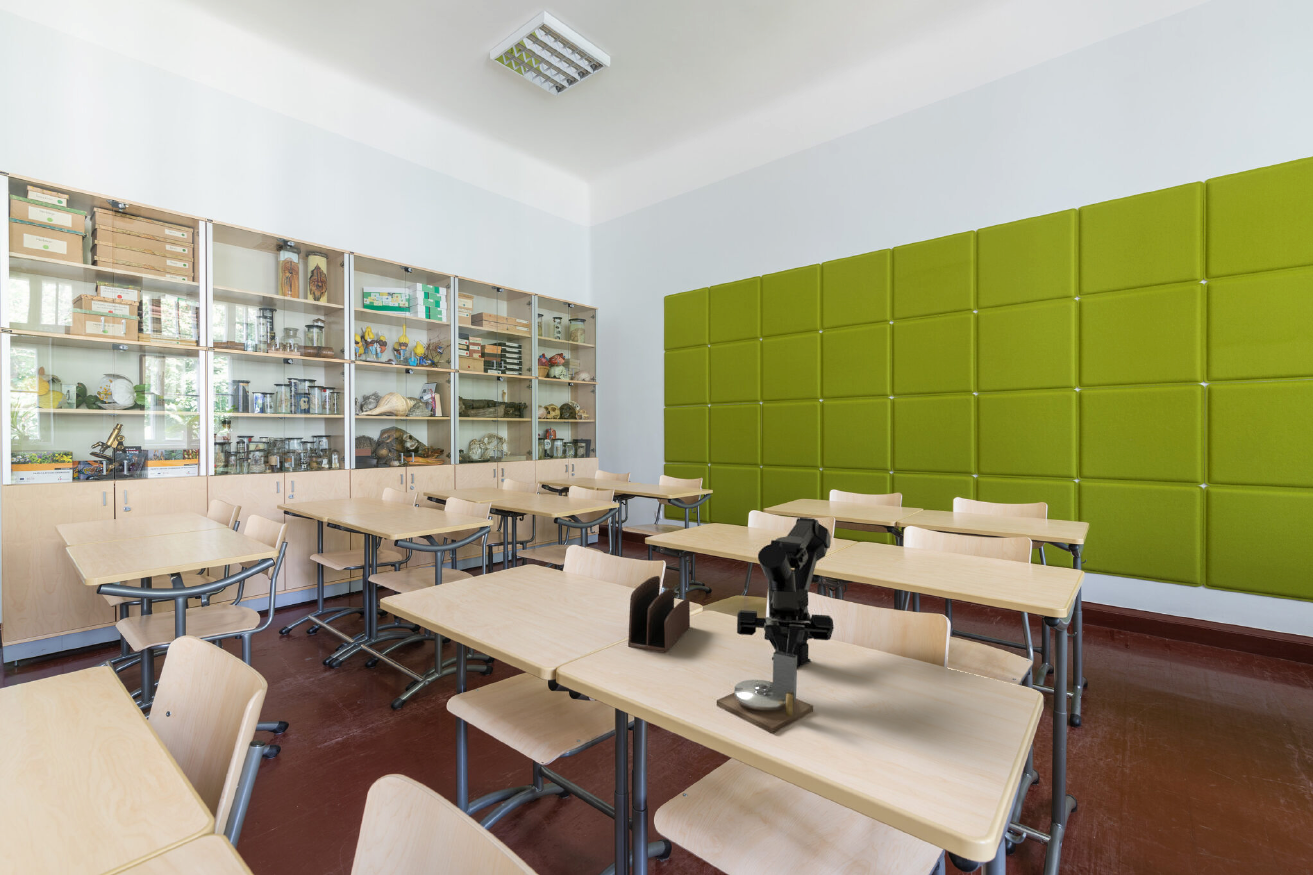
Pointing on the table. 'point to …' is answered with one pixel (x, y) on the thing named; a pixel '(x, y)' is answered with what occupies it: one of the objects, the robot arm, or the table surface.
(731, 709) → the walnut board
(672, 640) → the letter holder
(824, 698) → the table surface
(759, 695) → the disc and block
